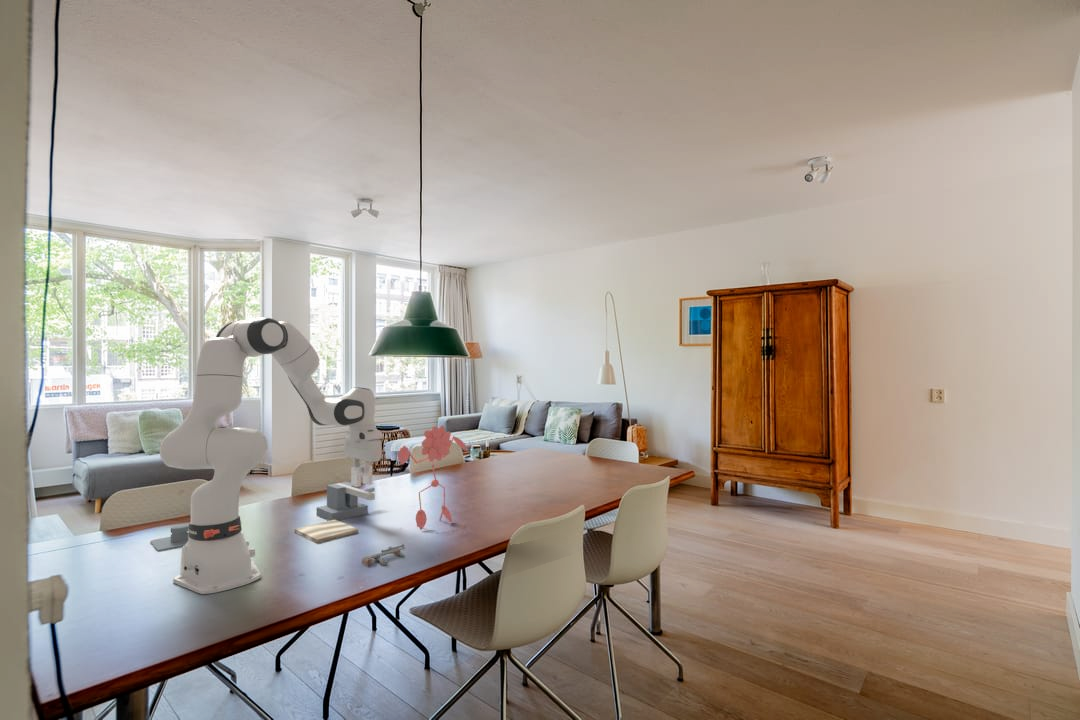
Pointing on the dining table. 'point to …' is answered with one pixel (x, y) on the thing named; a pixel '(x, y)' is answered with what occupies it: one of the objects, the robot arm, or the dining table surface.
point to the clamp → (376, 557)
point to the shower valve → (173, 538)
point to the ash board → (326, 531)
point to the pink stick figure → (435, 448)
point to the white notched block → (356, 476)
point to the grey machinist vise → (344, 501)
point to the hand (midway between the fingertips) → (361, 471)
